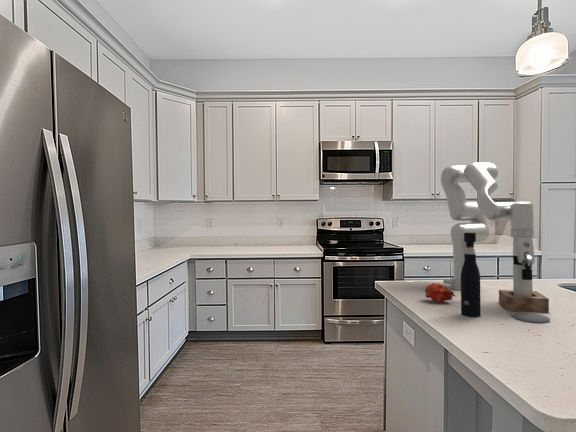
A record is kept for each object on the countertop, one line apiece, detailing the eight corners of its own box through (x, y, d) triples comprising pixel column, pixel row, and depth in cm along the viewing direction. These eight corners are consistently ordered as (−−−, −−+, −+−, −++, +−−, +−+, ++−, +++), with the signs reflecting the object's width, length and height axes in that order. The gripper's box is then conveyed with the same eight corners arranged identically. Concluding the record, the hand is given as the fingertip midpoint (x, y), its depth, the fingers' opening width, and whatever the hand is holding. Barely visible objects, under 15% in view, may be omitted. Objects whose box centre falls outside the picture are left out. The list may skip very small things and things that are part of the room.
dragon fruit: (423, 303, 156) (452, 311, 149) (419, 295, 150) (450, 303, 143) (428, 285, 160) (458, 292, 153) (425, 276, 154) (455, 284, 147)
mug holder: (507, 310, 138) (507, 296, 138) (499, 301, 150) (498, 289, 150) (548, 312, 134) (548, 298, 134) (536, 303, 146) (536, 291, 146)
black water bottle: (479, 313, 135) (478, 232, 134) (482, 318, 129) (481, 233, 128) (460, 311, 137) (459, 232, 136) (462, 316, 131) (461, 233, 130)
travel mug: (509, 305, 145) (508, 255, 144) (524, 304, 145) (524, 254, 145) (520, 309, 139) (519, 257, 138) (536, 308, 139) (536, 256, 139)
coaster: (517, 322, 124) (517, 320, 124) (508, 313, 134) (508, 311, 134) (555, 324, 120) (555, 322, 120) (543, 314, 131) (543, 313, 131)
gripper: (541, 234, 132) (542, 281, 132) (525, 232, 148) (526, 274, 149) (517, 235, 134) (518, 281, 134) (504, 232, 151) (505, 273, 151)
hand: (522, 277), depth 141 cm, fingers open, 9 cm apart
